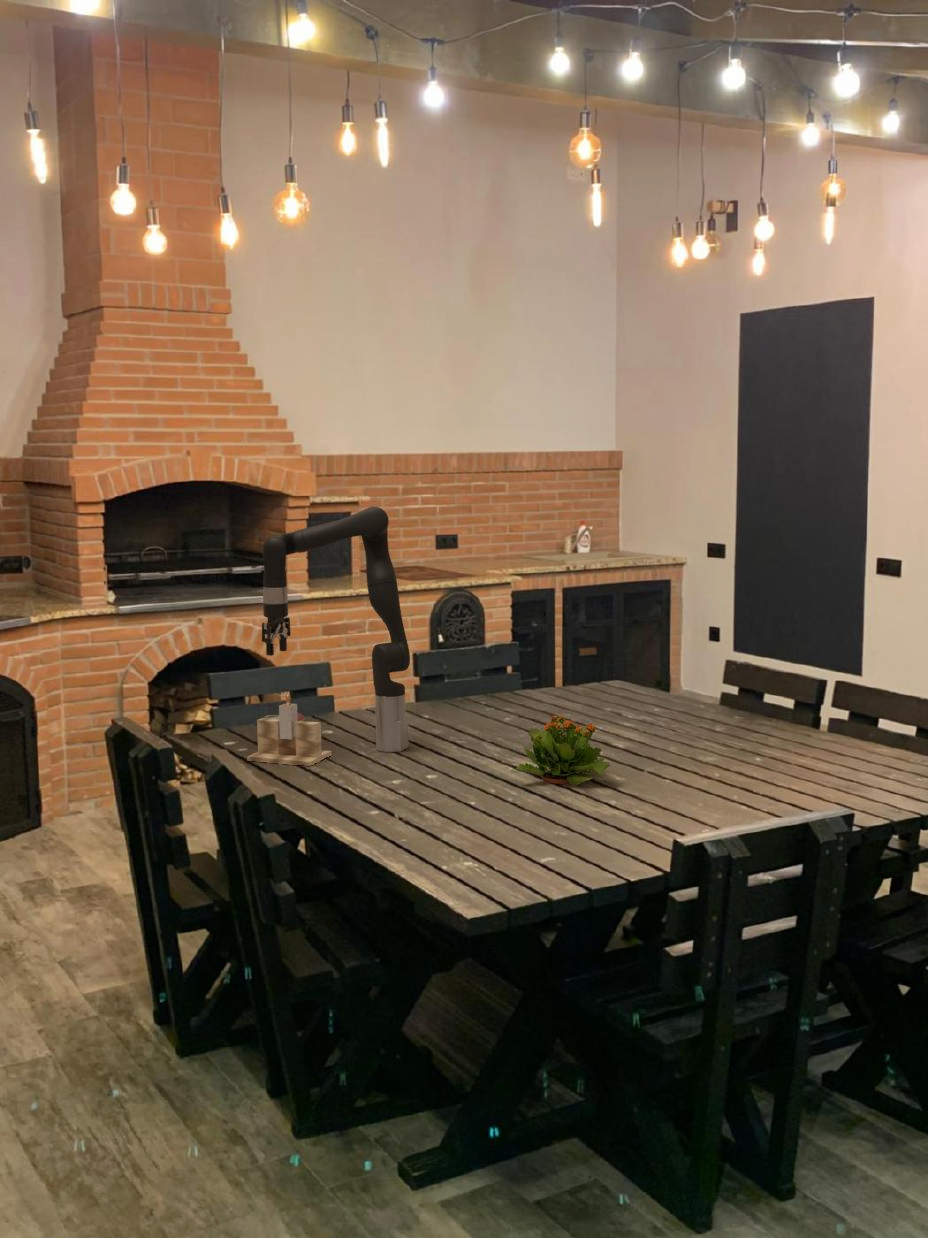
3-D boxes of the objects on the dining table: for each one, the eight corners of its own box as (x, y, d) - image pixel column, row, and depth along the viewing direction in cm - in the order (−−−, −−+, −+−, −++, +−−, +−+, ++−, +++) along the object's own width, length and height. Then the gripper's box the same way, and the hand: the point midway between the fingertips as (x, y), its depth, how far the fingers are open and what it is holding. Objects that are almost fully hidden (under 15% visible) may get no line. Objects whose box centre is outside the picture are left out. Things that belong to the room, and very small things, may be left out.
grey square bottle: (298, 736, 372) (296, 694, 371) (291, 739, 369) (290, 696, 367) (286, 735, 374) (285, 693, 372) (279, 738, 370) (278, 695, 368)
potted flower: (527, 794, 330) (527, 730, 328) (501, 772, 353) (500, 712, 350) (614, 786, 337) (615, 723, 334) (583, 766, 359) (583, 707, 357)
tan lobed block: (331, 756, 375) (330, 718, 373) (310, 767, 362) (308, 728, 360) (270, 750, 382) (269, 714, 381) (247, 761, 369) (246, 723, 368)
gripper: (275, 604, 373) (276, 657, 375) (297, 599, 386) (298, 650, 388) (253, 603, 375) (254, 656, 377) (275, 598, 388) (276, 649, 391)
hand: (276, 653), depth 383 cm, fingers open, 8 cm apart
